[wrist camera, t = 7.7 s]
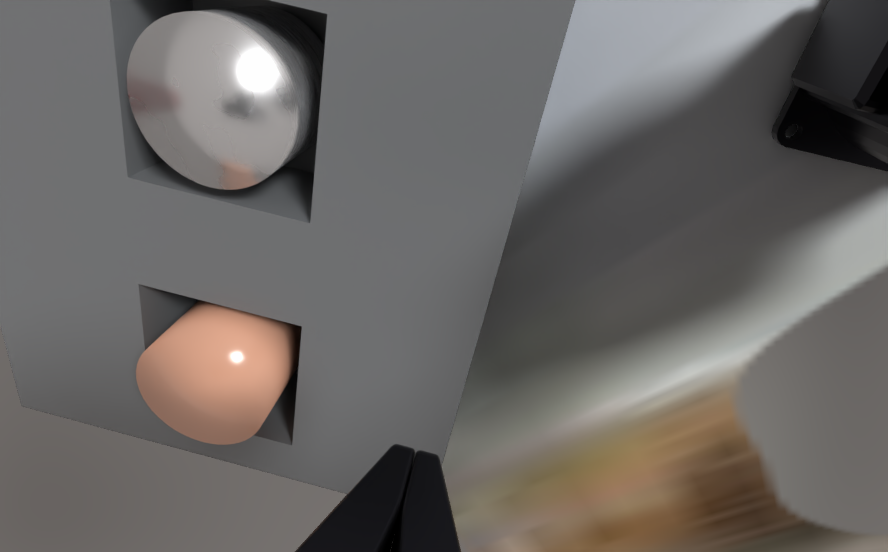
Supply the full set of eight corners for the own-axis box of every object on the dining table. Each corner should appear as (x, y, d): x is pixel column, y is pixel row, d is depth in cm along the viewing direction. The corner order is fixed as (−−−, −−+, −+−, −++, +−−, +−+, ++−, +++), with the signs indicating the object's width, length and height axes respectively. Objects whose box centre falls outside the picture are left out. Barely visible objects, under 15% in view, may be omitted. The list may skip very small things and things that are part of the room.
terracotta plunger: (311, 298, 21) (267, 359, 18) (303, 388, 24) (263, 458, 20) (195, 268, 22) (129, 323, 18) (199, 361, 24) (141, 425, 20)
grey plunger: (345, 24, 17) (296, 35, 14) (331, 166, 20) (286, 206, 16) (202, -10, 17) (118, -8, 14) (205, 135, 20) (134, 168, 16)
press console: (570, -20, 17) (581, -21, 13) (445, 429, 27) (427, 515, 23) (31, -144, 18) (-134, -185, 13) (103, 339, 28) (21, 405, 23)
